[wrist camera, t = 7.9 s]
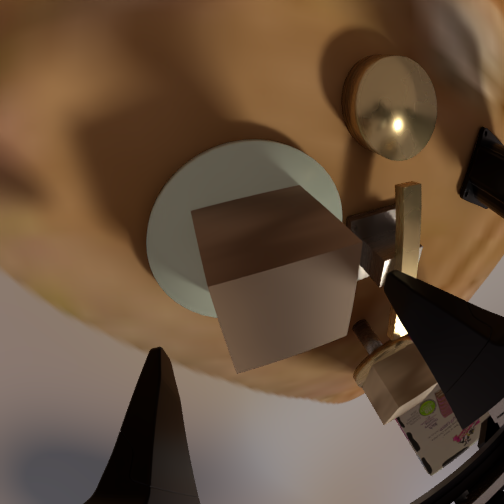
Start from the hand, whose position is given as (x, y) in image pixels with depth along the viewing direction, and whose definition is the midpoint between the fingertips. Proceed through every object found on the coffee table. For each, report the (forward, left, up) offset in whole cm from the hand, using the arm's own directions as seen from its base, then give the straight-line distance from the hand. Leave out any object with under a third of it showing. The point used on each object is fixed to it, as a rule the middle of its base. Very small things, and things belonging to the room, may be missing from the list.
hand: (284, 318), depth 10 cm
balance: (-9, 0, -6) cm, 11 cm away
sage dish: (0, 0, -6) cm, 6 cm away
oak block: (-12, +8, -1) cm, 15 cm away
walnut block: (0, 0, -5) cm, 5 cm away
